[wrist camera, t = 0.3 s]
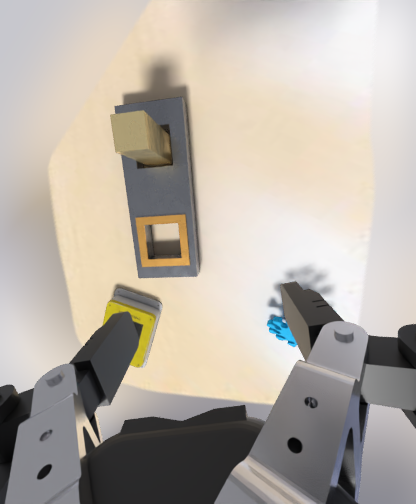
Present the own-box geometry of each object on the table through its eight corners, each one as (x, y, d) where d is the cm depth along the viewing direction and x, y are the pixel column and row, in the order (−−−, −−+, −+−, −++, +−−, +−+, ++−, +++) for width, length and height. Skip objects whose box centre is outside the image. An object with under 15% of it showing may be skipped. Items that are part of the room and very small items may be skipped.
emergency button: (156, 313, 38) (136, 384, 41) (164, 301, 42) (145, 367, 45) (104, 294, 38) (89, 366, 42) (117, 285, 42) (102, 351, 46)
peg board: (122, 112, 35) (113, 105, 32) (186, 104, 34) (181, 95, 31) (144, 273, 40) (137, 278, 38) (199, 271, 39) (197, 277, 36)
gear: (253, 326, 38) (298, 322, 30) (264, 296, 41) (307, 285, 33) (302, 358, 40) (356, 363, 32) (308, 328, 43) (360, 324, 35)
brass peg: (144, 138, 36) (110, 114, 26) (169, 135, 35) (143, 110, 25) (148, 165, 36) (115, 152, 27) (172, 163, 36) (148, 148, 26)
